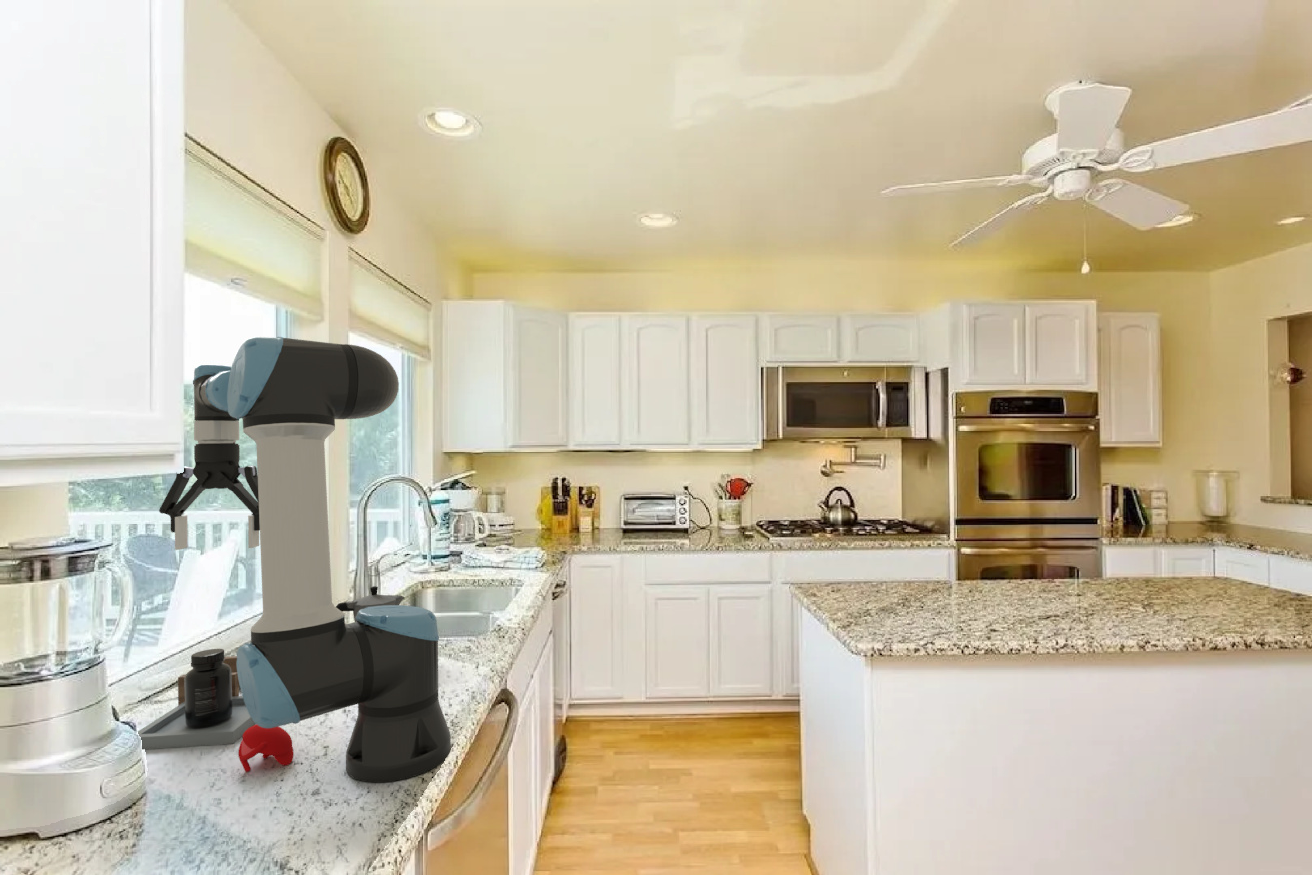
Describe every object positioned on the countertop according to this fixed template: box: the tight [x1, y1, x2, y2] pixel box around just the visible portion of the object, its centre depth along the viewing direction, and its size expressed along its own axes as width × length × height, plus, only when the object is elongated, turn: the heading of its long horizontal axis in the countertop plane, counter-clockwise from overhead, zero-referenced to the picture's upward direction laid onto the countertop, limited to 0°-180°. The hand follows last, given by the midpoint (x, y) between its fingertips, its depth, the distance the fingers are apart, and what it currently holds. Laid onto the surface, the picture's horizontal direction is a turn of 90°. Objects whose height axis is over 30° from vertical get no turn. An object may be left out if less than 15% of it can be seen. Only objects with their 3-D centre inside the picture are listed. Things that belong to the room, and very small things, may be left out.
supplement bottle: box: [185, 648, 232, 728], centre depth 112 cm, size 7×7×12 cm
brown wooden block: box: [177, 655, 240, 706], centre depth 125 cm, size 11×10×6 cm
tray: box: [137, 695, 257, 750], centre depth 112 cm, size 16×16×2 cm
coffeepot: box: [335, 585, 405, 622], centre depth 139 cm, size 15×9×18 cm, turn 134°
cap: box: [238, 724, 294, 773], centre depth 98 cm, size 8×6×6 cm
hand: (217, 547), depth 128 cm, fingers open, 13 cm apart
